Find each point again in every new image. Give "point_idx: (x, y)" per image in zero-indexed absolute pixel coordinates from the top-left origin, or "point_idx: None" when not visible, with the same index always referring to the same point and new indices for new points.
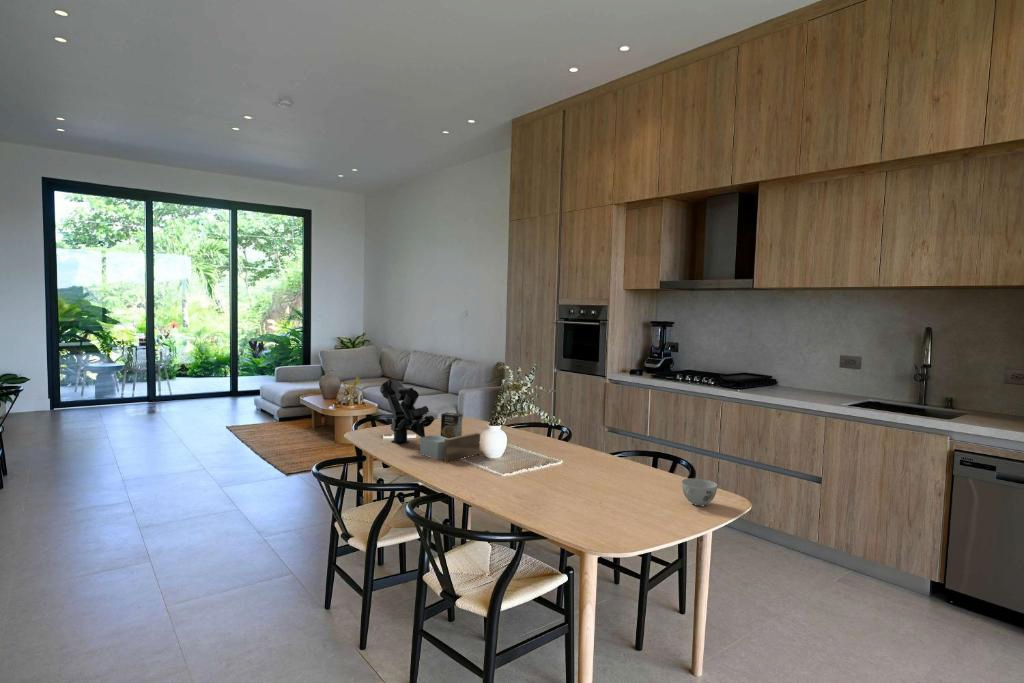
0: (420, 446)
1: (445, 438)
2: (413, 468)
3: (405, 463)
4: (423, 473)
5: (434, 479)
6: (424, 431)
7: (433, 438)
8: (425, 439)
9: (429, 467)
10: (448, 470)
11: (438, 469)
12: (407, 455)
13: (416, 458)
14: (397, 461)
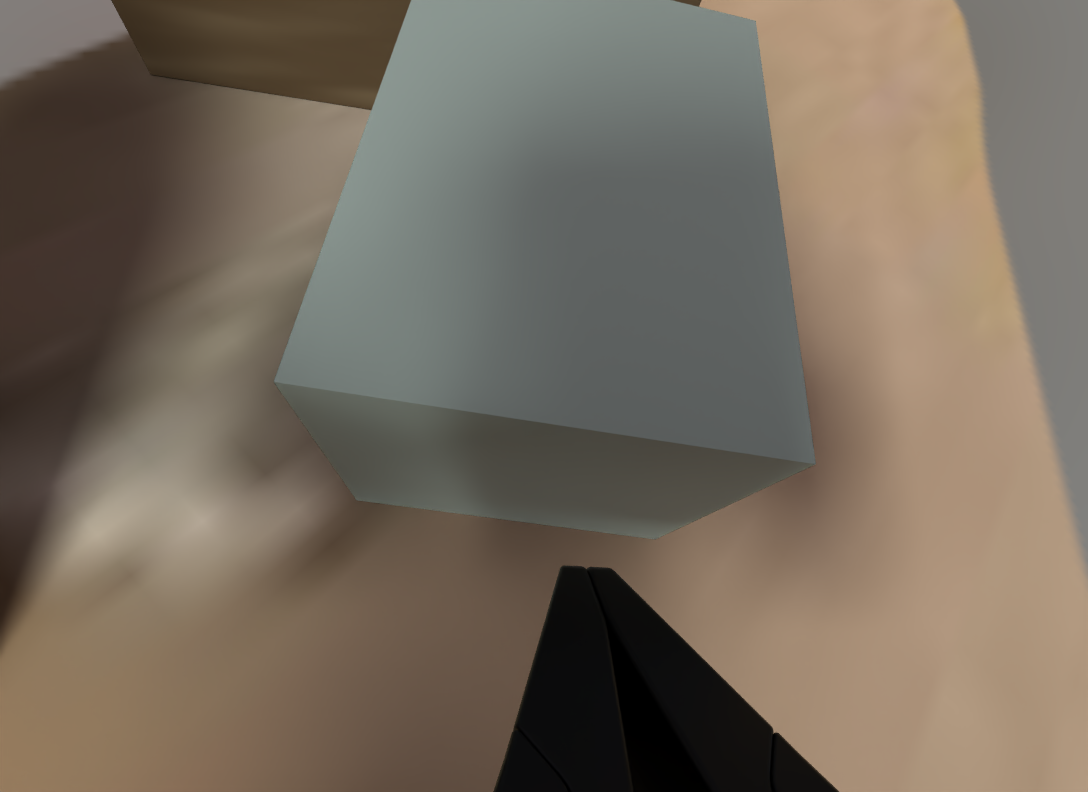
0: (706, 509)
1: (452, 53)
2: (977, 211)
3: (993, 353)
4: (953, 102)
5: (938, 12)
6: (533, 675)
7: (637, 195)
8: (780, 298)
9: (850, 144)
10: (768, 28)
11: (816, 79)
12: (848, 600)
13: (813, 405)
14: (1050, 465)
